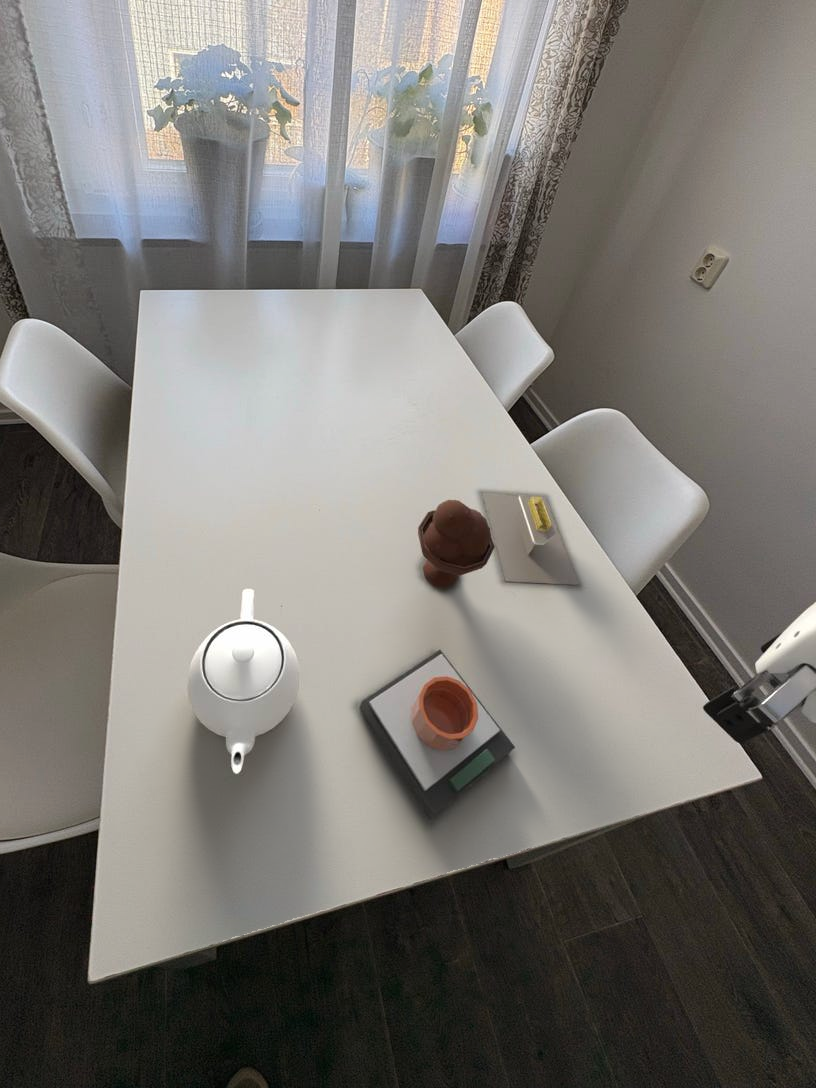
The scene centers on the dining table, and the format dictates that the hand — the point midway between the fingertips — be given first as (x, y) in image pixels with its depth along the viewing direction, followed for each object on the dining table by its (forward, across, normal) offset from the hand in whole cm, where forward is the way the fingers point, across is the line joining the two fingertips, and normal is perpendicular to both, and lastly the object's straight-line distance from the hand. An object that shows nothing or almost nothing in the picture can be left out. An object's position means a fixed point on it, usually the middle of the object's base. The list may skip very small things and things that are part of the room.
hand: (750, 691), depth 44 cm
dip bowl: (+25, -14, +15) cm, 33 cm away
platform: (+28, +20, +30) cm, 46 cm away
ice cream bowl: (+28, +2, +32) cm, 43 cm away
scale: (+28, -14, +15) cm, 35 cm away
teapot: (+28, -32, +31) cm, 53 cm away
